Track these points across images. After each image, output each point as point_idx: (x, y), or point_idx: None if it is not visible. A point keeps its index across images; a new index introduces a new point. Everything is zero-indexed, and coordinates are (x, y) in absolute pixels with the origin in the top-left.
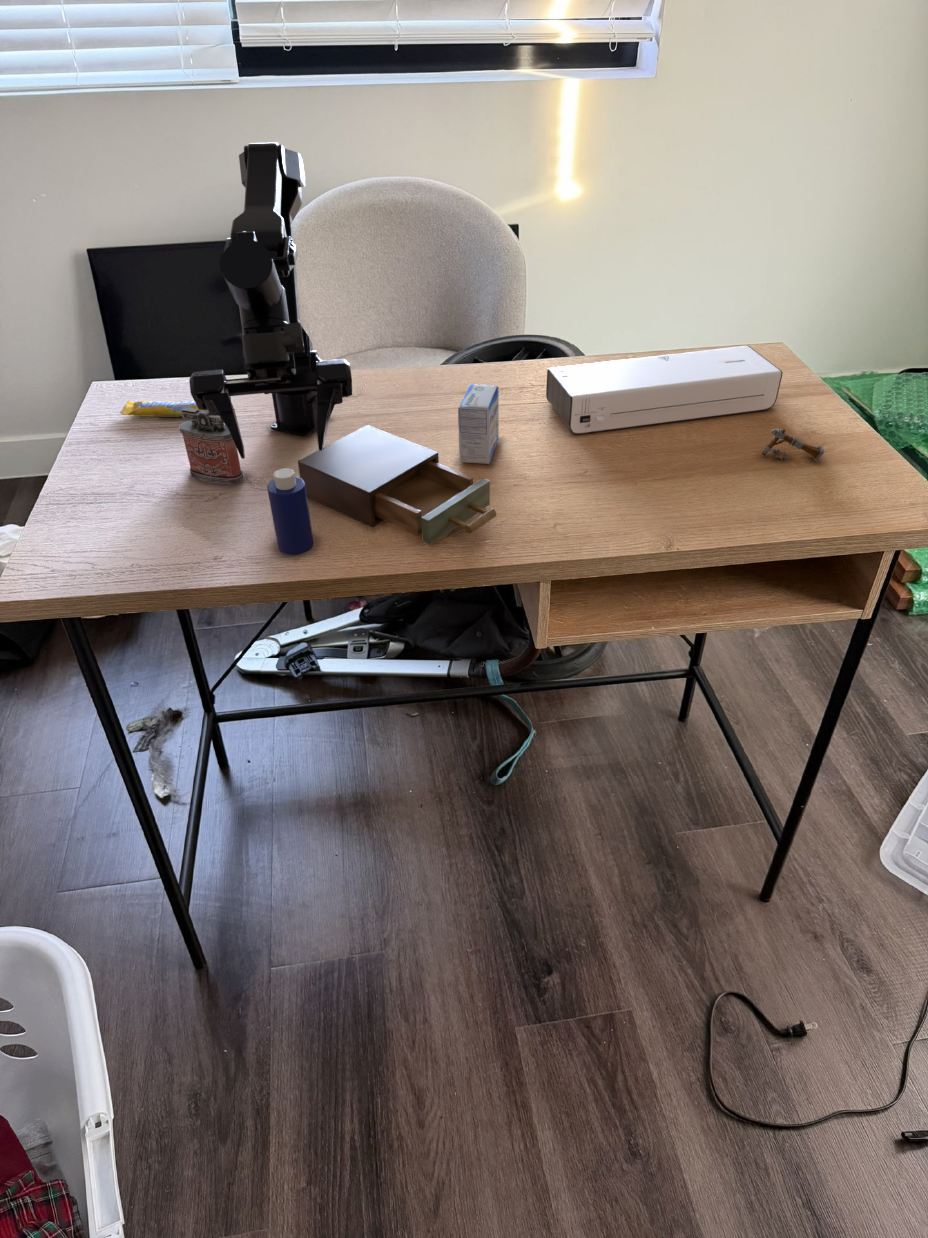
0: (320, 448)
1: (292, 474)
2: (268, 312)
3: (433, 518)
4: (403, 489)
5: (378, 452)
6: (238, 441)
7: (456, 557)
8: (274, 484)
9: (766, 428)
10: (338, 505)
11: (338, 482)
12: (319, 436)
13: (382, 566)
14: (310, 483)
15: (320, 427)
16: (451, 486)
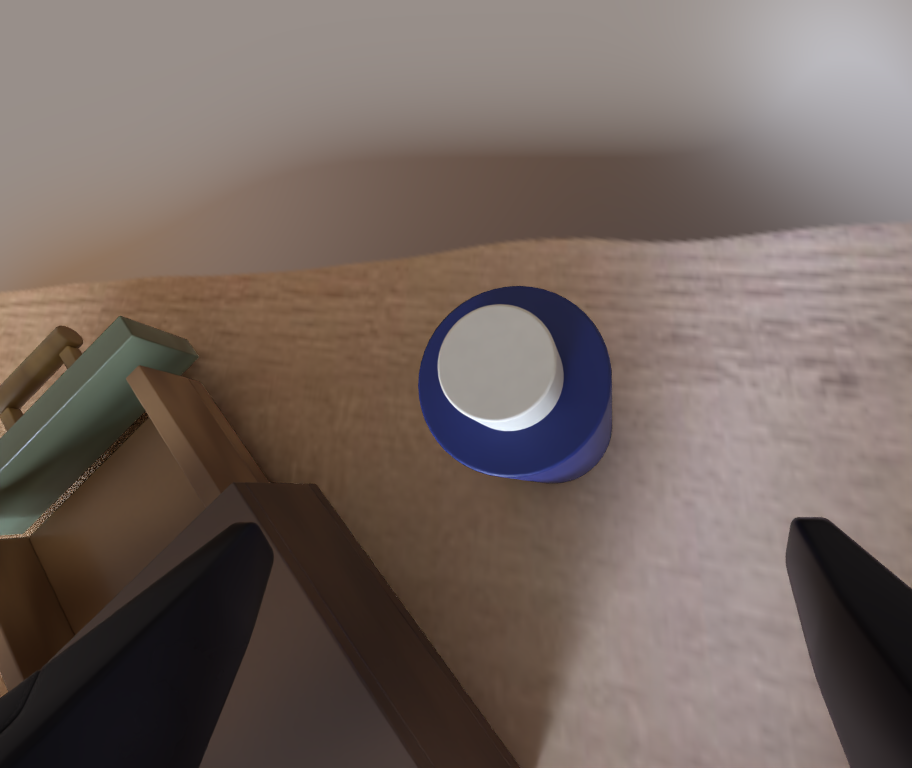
0: (248, 522)
1: (447, 341)
2: None
3: (106, 331)
4: None
5: None
6: (883, 609)
7: (153, 312)
8: (571, 392)
9: None
10: (393, 611)
11: (336, 621)
12: (195, 572)
13: (317, 289)
14: (474, 762)
15: (134, 619)
16: (47, 595)
